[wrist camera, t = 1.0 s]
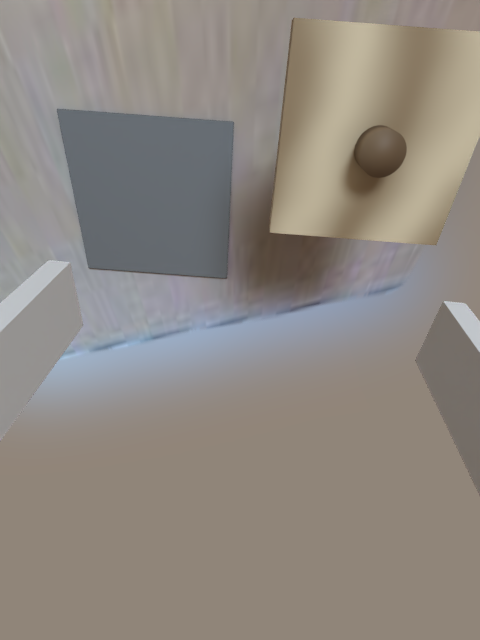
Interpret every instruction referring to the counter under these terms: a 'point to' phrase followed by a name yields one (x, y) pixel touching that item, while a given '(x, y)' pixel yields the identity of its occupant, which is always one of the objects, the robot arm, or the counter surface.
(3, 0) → the counter surface
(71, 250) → the counter surface
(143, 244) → the rubber mat
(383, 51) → the bamboo lid
